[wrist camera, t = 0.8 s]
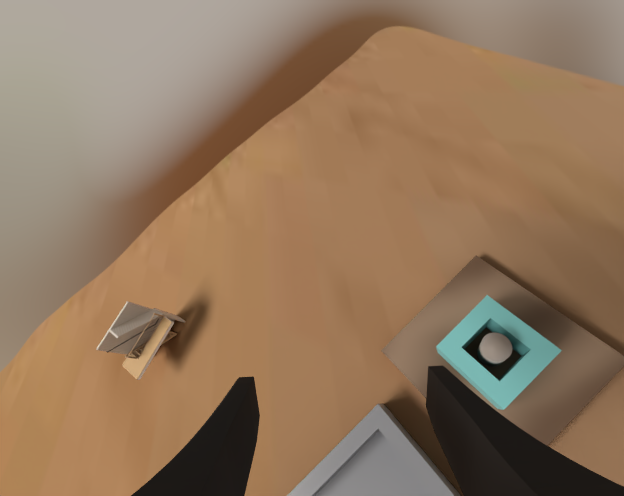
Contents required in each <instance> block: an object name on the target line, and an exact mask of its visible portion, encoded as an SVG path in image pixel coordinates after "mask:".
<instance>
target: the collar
mask: <svg viewBox="0 0 624 496" xmlns="http://www.w3.org/2000/svg"><path fill="white" fill-rule="evenodd" d="M485 328H487V329H489V330H490V331H491V332H492V333H494V332H495V333H500V334H503V335H504V336H506V337H507V338H508V339H509V340H510V342H511V344H512V349H514V350H515V351H516V352H517V353H519V354H520V355H521V357H520V358H519V359H518V360H517V361H516V362H515V363H514V364H513V365H512V366H511V367H510V368H509V369H508V370H507V371H506V372H505V373H504V374H503V375H502V376H501V377H500V378H499V379H497V378H495V377H494V376H493V375H492V374H491V373H490V372H489V371H487V370H486V369H485V368H484V367H483V366H482V365H481V364H480V363H478V362H477V361H476V360H475V359H474V358H473V357H472V356H471V355H469V354H468V353H467V352H466V351H465V350H464V349H465V348H466V347H467V346H468V345H469V344H470V343H471V342H472V341H473V340H474V339H475V338H476V337H477V336H478V335H479V334H480V333H481V332H482V331H483V330H484V329H485ZM436 348H437V352H438V353H439V354H440V355H441V356H442V357H443V358H444V359H445V360H446V361H447V362H448V363H449V364H450V365H451V366H452V367H453V368H455V369H456V370H457V371H458V372H459V373H460V374H461V375H462V376H463V377H464V378H465V379H466V380H467V381H468V382H469V383H470V384H472V385H473V386H474V387H475V388H476V389H477V390H478V391H479V392H480V393H481V394H482V395H483V396H484V397H485V398H486V399H487V400H488V401H490V402H491V403H492V404H493V405H494V406H495V407H496V408H497V409H501V410H504V409H505V408H506V407H507V406H508V405H509V404H510V403H511V402H512V401H513V400H514V399H515V398H516V397H517V396H518V395H519V394H520V393H521V392H522V391H523V390H524V389H525V388H526V387H527V386H528V385H529V384H530V383H531V382H532V381H533V380H534V379H535V378H536V376H537V375H538V374H539V373H540V372H541V371H542V370H543V369H544V368H545V367H546V366H547V365H548V364H549V363H550V362H551V361H552V360H553V359H554V358H555V357H556V356H557V355H558V354H559V353H560V352H561V351H562V350H561V349H559V348H558V347H557V346H555V345H554V344H553V343H551V342H550V341H549V340H547V339H546V338H544V337H543V336H542V335H540V334H539V333H538V332H536V331H535V330H534V329H532V328H531V327H530V326H528V325H527V324H526V323H524V322H523V321H522V320H520V319H519V318H518V317H516V316H515V315H513V314H512V313H511V312H509V311H508V310H507V309H505V308H504V307H503V306H501V305H500V304H499V303H497V302H496V301H495V300H493V299H492V298H491V297H489V296H488V295H487V296H486V297H485V298H484V299H483V300H482V301H481V302H480V303H479V304H478V305H477V306H476V307H475V308H474V309H473V310H472V311H471V312H470V313H469V314H468V315H467V316H466V317H465V318H464V319H463V320H462V321H461V322H460V323H459V324H458V325H457V326H456V327H455V328H454V329H453V330H452V331H451V332H450V333H449V334H448V335H447V336H446V337H445V338H444V339H443V340H442V341H441V342H440V343H439V344H438V345H437V346H436Z"/></svg>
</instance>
